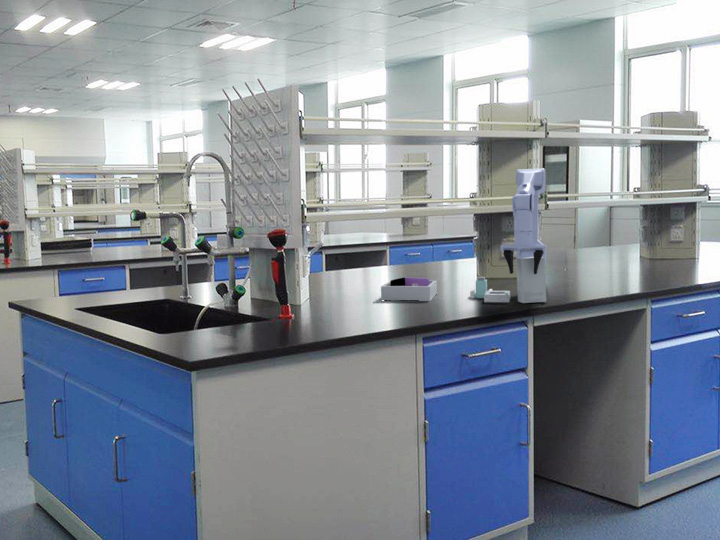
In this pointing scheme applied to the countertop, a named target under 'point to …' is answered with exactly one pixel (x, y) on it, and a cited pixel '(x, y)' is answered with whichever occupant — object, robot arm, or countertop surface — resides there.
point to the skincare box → (530, 280)
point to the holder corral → (409, 292)
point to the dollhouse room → (410, 282)
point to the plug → (481, 287)
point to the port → (497, 297)
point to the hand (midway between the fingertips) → (523, 273)
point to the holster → (472, 292)
